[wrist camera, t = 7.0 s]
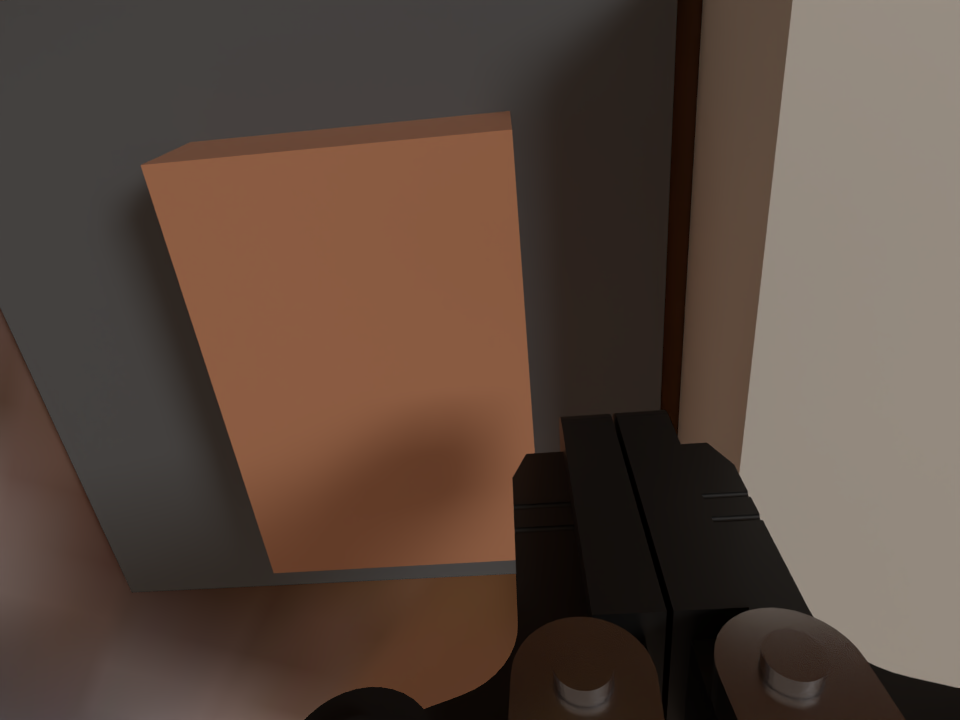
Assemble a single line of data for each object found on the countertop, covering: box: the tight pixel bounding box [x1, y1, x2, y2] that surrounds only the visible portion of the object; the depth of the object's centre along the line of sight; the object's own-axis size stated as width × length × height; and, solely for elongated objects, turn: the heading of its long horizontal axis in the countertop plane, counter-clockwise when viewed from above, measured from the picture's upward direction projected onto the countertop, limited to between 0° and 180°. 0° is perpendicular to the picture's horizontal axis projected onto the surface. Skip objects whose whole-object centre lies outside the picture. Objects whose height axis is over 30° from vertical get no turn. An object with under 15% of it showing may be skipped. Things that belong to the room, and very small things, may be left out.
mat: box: [0, 0, 678, 592], centre depth 15 cm, size 14×14×1 cm
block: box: [141, 111, 535, 573], centre depth 14 cm, size 6×9×2 cm, turn 5°
